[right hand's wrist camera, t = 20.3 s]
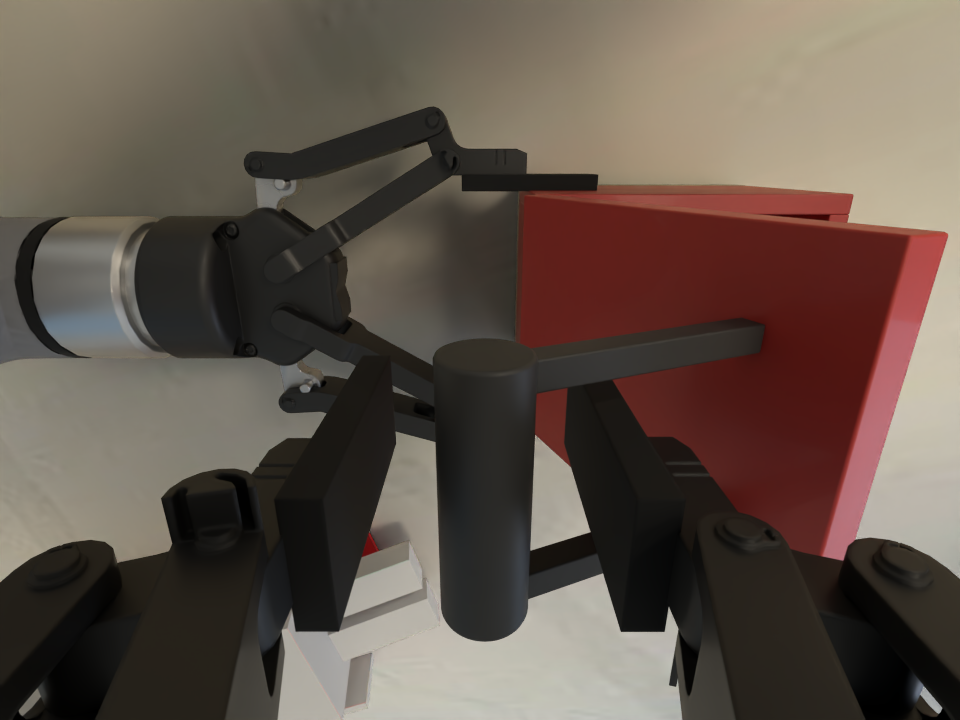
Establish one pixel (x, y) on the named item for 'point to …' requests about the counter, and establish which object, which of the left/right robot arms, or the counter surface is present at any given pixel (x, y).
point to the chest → (702, 207)
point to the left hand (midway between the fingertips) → (584, 288)
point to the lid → (677, 378)
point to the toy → (351, 637)
